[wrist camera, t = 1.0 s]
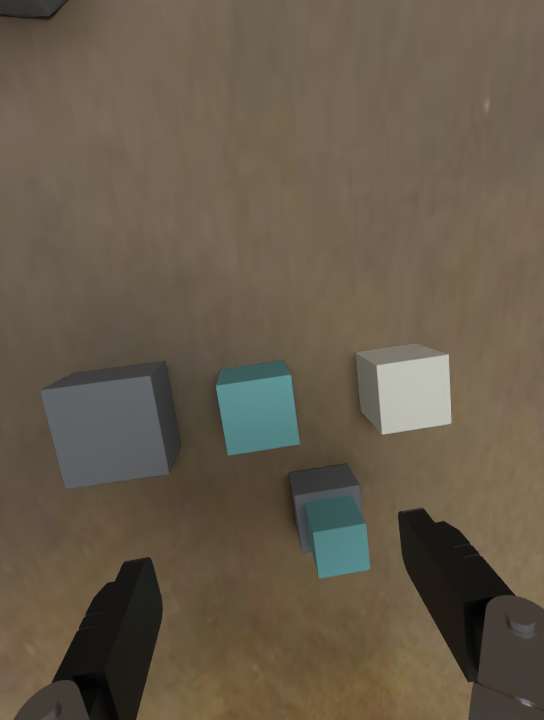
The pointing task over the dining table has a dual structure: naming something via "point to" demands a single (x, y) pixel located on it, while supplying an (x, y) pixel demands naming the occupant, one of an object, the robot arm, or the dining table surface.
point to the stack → (330, 519)
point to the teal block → (257, 407)
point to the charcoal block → (113, 424)
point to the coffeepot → (29, 7)
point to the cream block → (404, 387)
